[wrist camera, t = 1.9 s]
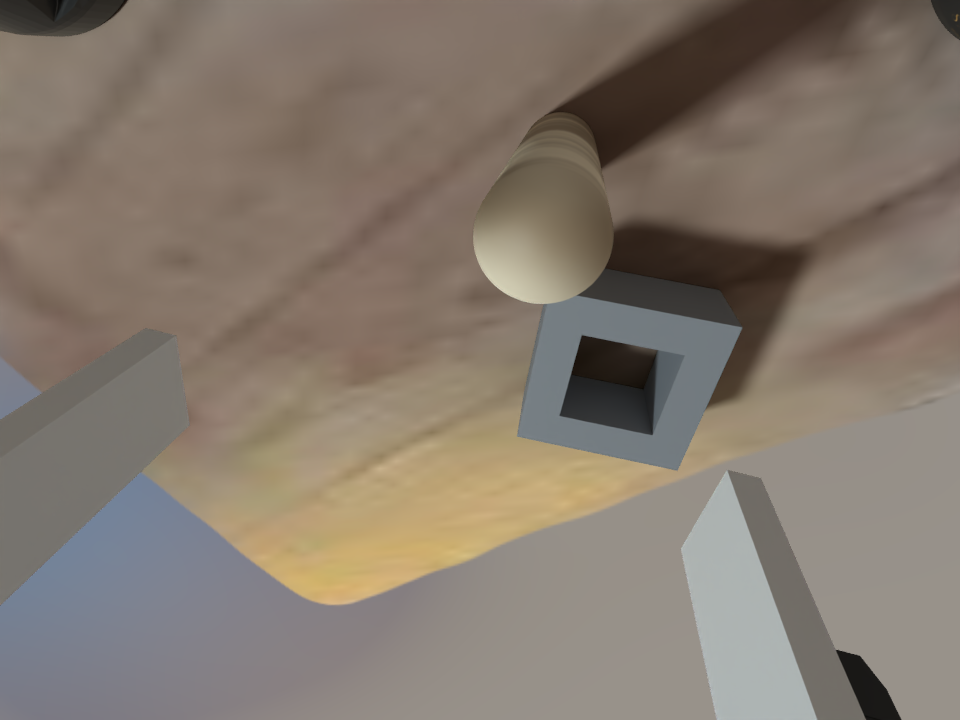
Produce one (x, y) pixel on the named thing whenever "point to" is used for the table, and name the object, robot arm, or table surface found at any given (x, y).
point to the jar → (948, 15)
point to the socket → (617, 408)
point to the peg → (547, 215)
